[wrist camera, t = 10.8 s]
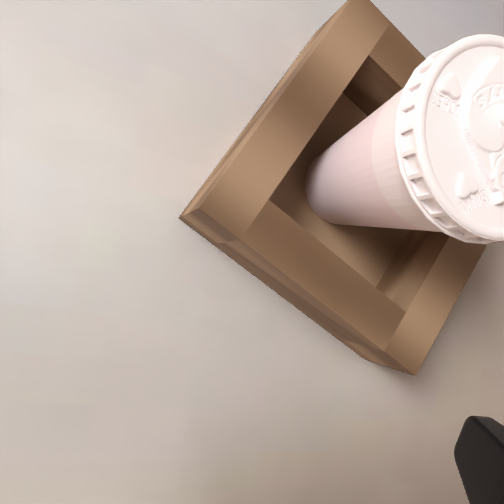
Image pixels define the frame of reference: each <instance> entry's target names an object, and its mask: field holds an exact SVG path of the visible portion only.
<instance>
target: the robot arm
mask: <svg viewBox="0 0 504 504" xmlns="http://www.w3.org/2000/svg"><path fill="white" fill-rule="evenodd" d="M454 456H455V461H456V464H457V467H458V470H459V473H460V476H461V479H462V482H463V485H464V488H465V491H466V494H467V497H468V500H469V503H470V504H504V426H503V425H501V424H500V423H498V422H497V421H495V420H494V419H492V418H490V417H483V416H470V417H468V418H467V419H466V420H465V422H464V425H463V427H462V430H461V432H460V435H459V437H458V440H457V442H456V445H455V450H454Z"/></svg>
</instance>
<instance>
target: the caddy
mask: <svg viewBox="0 0 504 504" xmlns="http://www.w3.org/2000/svg"><path fill="white" fill-rule="evenodd" d="M425 59H426V58H425V57H424V56H423V55H422V54H421V53H420V52H419V51H418V50H417V49H416V48H415V47H414V46H413V45H412V44H411V43H410V42H409V41H408V40H407V39H406V38H405V37H404V35H403V34H402V33H401V32H400V31H399V30H398V29H397V28H396V27H395V26H394V25H393V24H392V23H391V22H390V21H389V20H388V19H387V18H386V17H385V16H384V15H383V14H382V12H381V11H380V10H379V9H378V8H377V7H376V6H375V5H374V4H373V3H372V2H371V1H370V0H348V1H347V2H346V3H345V4H344V5H343V6H342V7H341V8H340V9H339V10H338V11H337V12H336V13H335V14H334V15H333V16H332V17H331V18H330V19H329V20H328V21H327V22H326V23H325V24H324V25H323V26H322V27H321V28H320V29H319V30H318V31H317V32H316V33H315V34H314V35H313V37H312V38H311V40H310V41H309V42H308V44H307V45H306V46H305V48H304V49H303V50H302V52H301V53H300V54H299V56H298V57H297V58H296V60H295V61H294V62H293V64H292V65H291V67H290V68H289V69H288V71H287V72H286V73H285V75H284V76H283V77H282V79H281V80H280V81H279V83H278V84H277V85H276V87H275V88H274V90H273V91H272V92H271V94H270V95H269V96H268V98H267V99H266V100H265V102H264V103H263V104H262V106H261V107H260V108H259V110H258V111H257V113H256V114H255V115H254V117H253V118H252V119H251V121H250V122H249V123H248V125H247V126H246V127H245V129H244V130H243V131H242V133H241V134H240V136H239V137H238V138H237V140H236V141H235V142H234V144H233V145H232V146H231V148H230V149H229V150H228V152H227V153H226V154H225V156H224V157H223V159H222V160H221V161H220V163H219V164H218V165H217V167H216V168H215V169H214V171H213V172H212V173H211V175H210V176H209V177H208V179H207V180H206V181H205V183H204V184H203V186H202V187H201V188H200V190H199V191H198V192H197V194H196V195H195V196H194V198H193V199H192V200H191V202H190V203H189V204H188V206H187V207H186V209H185V210H184V211H183V213H182V214H181V215H180V217H179V219H181V220H182V221H183V222H184V223H186V224H187V225H188V226H190V227H191V228H192V229H194V230H195V231H196V232H198V233H199V234H200V235H202V236H203V237H204V238H206V239H207V240H208V241H210V242H211V243H212V244H213V245H215V246H216V247H217V248H219V249H220V250H221V251H223V252H224V253H225V254H227V255H228V256H229V257H231V258H232V259H233V260H235V261H236V262H237V263H239V264H240V265H241V266H242V267H244V268H245V269H246V270H248V271H249V272H250V273H252V274H253V275H254V276H256V277H257V278H258V279H260V280H261V281H262V282H264V283H265V284H266V285H268V286H269V287H270V288H271V289H273V290H274V291H275V292H277V293H278V294H279V295H281V296H282V297H283V298H285V299H286V300H287V301H289V302H290V303H291V304H293V305H294V306H295V307H296V308H298V309H299V310H300V311H302V312H303V313H304V314H306V315H307V316H308V317H310V318H311V319H312V320H314V321H315V322H316V323H318V324H319V325H320V326H322V327H323V328H324V329H325V330H327V331H328V332H329V333H331V334H332V335H333V336H335V337H336V338H337V339H339V340H340V341H341V342H343V343H344V344H345V345H347V346H348V347H349V348H351V349H352V350H353V351H354V352H356V353H357V354H358V355H360V356H361V357H362V358H364V359H366V360H369V361H372V362H375V363H378V364H381V365H384V366H387V367H390V368H393V369H396V370H400V371H403V372H406V373H409V374H412V375H416V374H417V372H418V370H419V368H420V366H421V364H422V363H423V361H424V359H425V357H426V355H427V353H428V352H429V350H430V348H431V346H432V344H433V342H434V341H435V339H436V337H437V335H438V333H439V331H440V330H441V328H442V326H443V324H444V322H445V320H446V319H447V317H448V315H449V313H450V311H451V309H452V308H453V306H454V304H455V302H456V300H457V298H458V297H459V295H460V293H461V291H462V289H463V287H464V286H465V284H466V282H467V280H468V278H469V276H470V275H471V273H472V271H473V269H474V267H475V266H476V264H477V262H478V260H479V258H480V256H481V255H482V253H483V251H484V249H485V247H486V245H487V244H477V243H466V242H463V241H461V240H458V239H456V238H454V237H451V236H449V235H447V234H444V233H443V232H434V231H424V230H410V229H396V228H382V227H368V226H354V225H340V224H332V223H329V222H327V221H325V220H323V219H321V218H320V217H319V216H318V215H317V214H316V213H315V212H314V211H313V210H312V208H311V207H310V205H309V203H308V200H307V198H306V194H305V176H306V173H307V170H308V168H309V166H310V164H311V163H312V161H313V160H314V159H315V158H316V157H317V156H319V155H320V154H321V153H322V152H324V151H325V150H326V149H327V148H329V147H330V146H331V145H333V144H334V143H335V142H336V141H338V140H339V139H340V138H341V137H343V136H344V135H345V134H346V133H348V132H349V131H350V130H351V129H353V128H354V127H355V126H357V125H358V124H359V123H360V122H362V121H363V120H364V119H365V118H367V117H368V116H369V115H370V114H372V113H373V112H374V111H375V110H377V109H378V108H379V107H381V106H382V105H383V104H384V103H386V102H387V101H388V100H389V99H391V98H392V97H393V96H394V95H395V94H396V93H398V92H399V91H400V90H402V89H403V88H404V87H405V85H406V83H407V82H408V80H409V78H410V77H411V75H412V73H413V71H414V70H415V69H416V68H417V67H418V66H419V65H420V64H421V63H422V62H423V61H424V60H425Z"/></svg>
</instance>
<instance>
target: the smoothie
mask: <svg viewBox="0 0 504 504" xmlns="http://www.w3.org/2000/svg"><path fill="white" fill-rule="evenodd" d="M305 194H306V198H307V200H308V203H309V205H310V207H311V208H312V210H313V211H314V212H315V213H316V214H317V215H318V216H319V217H320V218H321V219H323V220H325V221H327V222H329V223H332V224H340V225H354V226H368V227H382V228H396V229H410V230H424V231H434V232H443V233H444V234H447V235H449V236H451V237H454V238H456V239H458V240H461V241H463V242H466V243H477V244H489V243H493V242H497V241H504V37H501V36H497V35H490V34H480V35H473V36H469V37H466V38H463V39H461V40H459V41H457V42H455V43H453V44H451V45H450V46H449V47H446V48H444V49H442V50H439V51H437V52H435V53H433V54H431V55H430V56H429V57H428V58H427V59H425V60H424V61H423V62H422V63H421V64H420V65H419V66H418V67H417V68H416V69H415V70H414V71H413V73H412V75H411V77H410V78H409V80H408V82H407V83H406V85H405V87H404V88H403V89H402V90H400V91H399V92H398V93H396V94H395V95H394V96H393V97H392V98H391V99H389V100H388V101H387V102H386V103H384V104H383V105H382V106H381V107H379V108H378V109H377V110H375V111H374V112H373V113H372V114H370V115H369V116H368V117H367V118H365V119H364V120H363V121H362V122H360V123H359V124H358V125H357V126H355V127H354V128H353V129H351V130H350V131H349V132H348V133H346V134H345V135H344V136H343V137H341V138H340V139H339V140H338V141H336V142H335V143H334V144H333V145H331V146H330V147H329V148H327V149H326V150H325V151H324V152H322V153H321V154H320V155H319V156H317V157H316V158H315V159H314V160H313V161H312V163H311V164H310V166H309V168H308V170H307V173H306V176H305Z"/></svg>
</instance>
